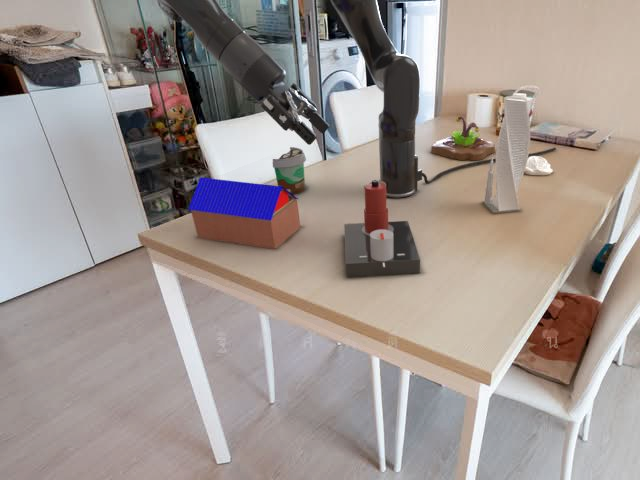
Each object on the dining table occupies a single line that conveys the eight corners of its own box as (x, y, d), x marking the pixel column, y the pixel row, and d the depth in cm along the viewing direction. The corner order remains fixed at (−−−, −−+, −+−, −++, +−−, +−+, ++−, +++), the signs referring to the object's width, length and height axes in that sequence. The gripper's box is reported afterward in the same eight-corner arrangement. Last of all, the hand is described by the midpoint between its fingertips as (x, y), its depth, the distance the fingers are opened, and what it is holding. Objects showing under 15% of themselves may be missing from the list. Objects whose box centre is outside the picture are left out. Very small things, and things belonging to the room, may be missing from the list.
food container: (299, 198, 121) (294, 160, 115) (277, 197, 122) (271, 159, 116) (315, 183, 131) (312, 147, 125) (295, 181, 132) (290, 146, 126)
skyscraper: (513, 200, 119) (529, 82, 104) (527, 212, 113) (546, 88, 97) (482, 203, 118) (494, 83, 102) (494, 215, 111) (509, 89, 96)
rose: (534, 150, 142) (561, 156, 136) (532, 164, 145) (559, 171, 139) (514, 156, 137) (542, 163, 131) (512, 170, 139) (539, 178, 133)
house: (276, 249, 96) (266, 196, 90) (195, 237, 101) (181, 186, 95) (302, 226, 106) (296, 177, 99) (228, 216, 111) (217, 169, 104)
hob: (345, 236, 102) (344, 223, 100) (407, 233, 103) (407, 220, 101) (346, 283, 85) (345, 268, 83) (421, 278, 86) (421, 264, 85)
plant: (452, 140, 168) (454, 108, 162) (501, 149, 159) (505, 115, 153) (422, 153, 155) (423, 118, 149) (474, 163, 145) (477, 127, 139)
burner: (381, 220, 101) (381, 220, 101) (400, 231, 97) (400, 230, 97) (355, 228, 98) (355, 227, 98) (373, 239, 93) (373, 239, 93)
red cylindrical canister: (367, 223, 100) (365, 176, 94) (390, 225, 99) (389, 177, 93) (362, 233, 95) (360, 184, 90) (386, 235, 95) (385, 185, 89)
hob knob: (370, 251, 89) (369, 228, 86) (392, 249, 90) (392, 227, 87) (371, 262, 85) (370, 238, 83) (394, 260, 86) (394, 237, 83)
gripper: (247, 56, 75) (321, 130, 80) (278, 48, 87) (342, 113, 92) (224, 90, 79) (296, 159, 84) (257, 78, 91) (319, 139, 96)
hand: (320, 135), depth 88 cm, fingers open, 8 cm apart
